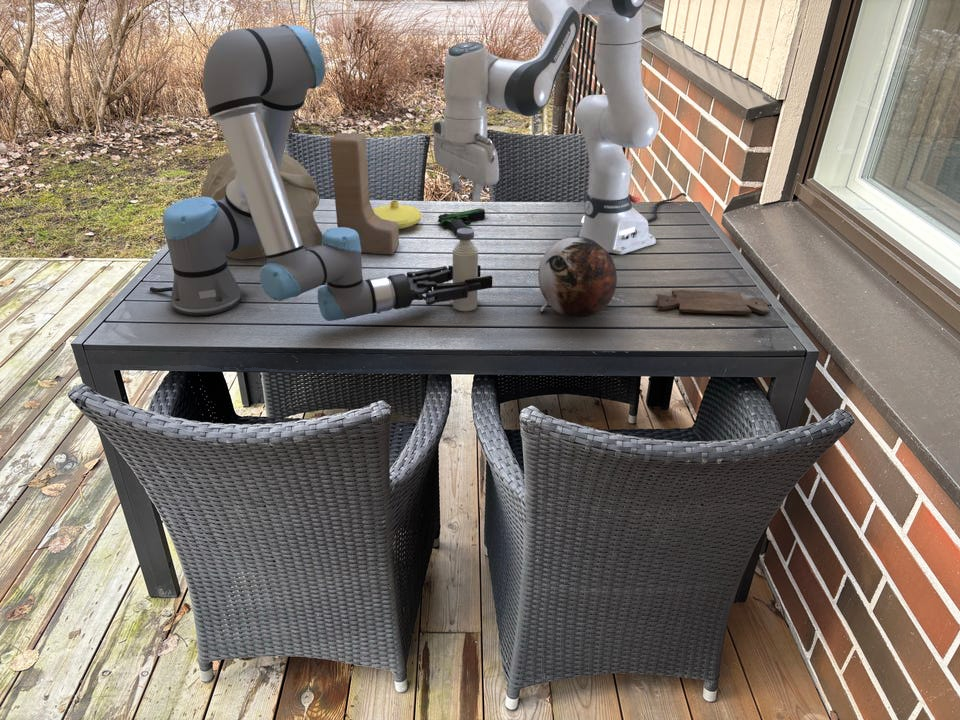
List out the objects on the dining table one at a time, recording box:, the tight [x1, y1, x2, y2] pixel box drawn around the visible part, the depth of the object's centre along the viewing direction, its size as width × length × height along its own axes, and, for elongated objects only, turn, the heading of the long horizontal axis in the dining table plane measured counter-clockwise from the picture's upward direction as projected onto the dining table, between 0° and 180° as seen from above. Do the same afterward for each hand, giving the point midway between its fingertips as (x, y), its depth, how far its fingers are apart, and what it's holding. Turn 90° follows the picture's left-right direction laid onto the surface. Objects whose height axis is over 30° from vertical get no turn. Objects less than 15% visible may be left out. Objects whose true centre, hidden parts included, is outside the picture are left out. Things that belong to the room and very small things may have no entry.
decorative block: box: [329, 132, 400, 255], centre depth 188 cm, size 8×15×30 cm, turn 82°
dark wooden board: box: [656, 289, 771, 316], centre depth 168 cm, size 26×2×10 cm
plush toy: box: [537, 236, 618, 319], centre depth 161 cm, size 22×18×20 cm
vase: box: [372, 199, 423, 230], centre depth 210 cm, size 16×16×7 cm
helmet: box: [200, 133, 323, 260], centre depth 189 cm, size 27×30×30 cm
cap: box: [456, 228, 475, 241], centre depth 158 cm, size 4×4×2 cm
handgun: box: [437, 207, 486, 237], centre depth 211 cm, size 16×3×15 cm
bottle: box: [452, 240, 479, 312], centre depth 162 cm, size 6×6×18 cm
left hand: (485, 276), depth 165 cm, fingers closed on bottle, 6 cm apart
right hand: (465, 195), depth 153 cm, fingers open, 6 cm apart
